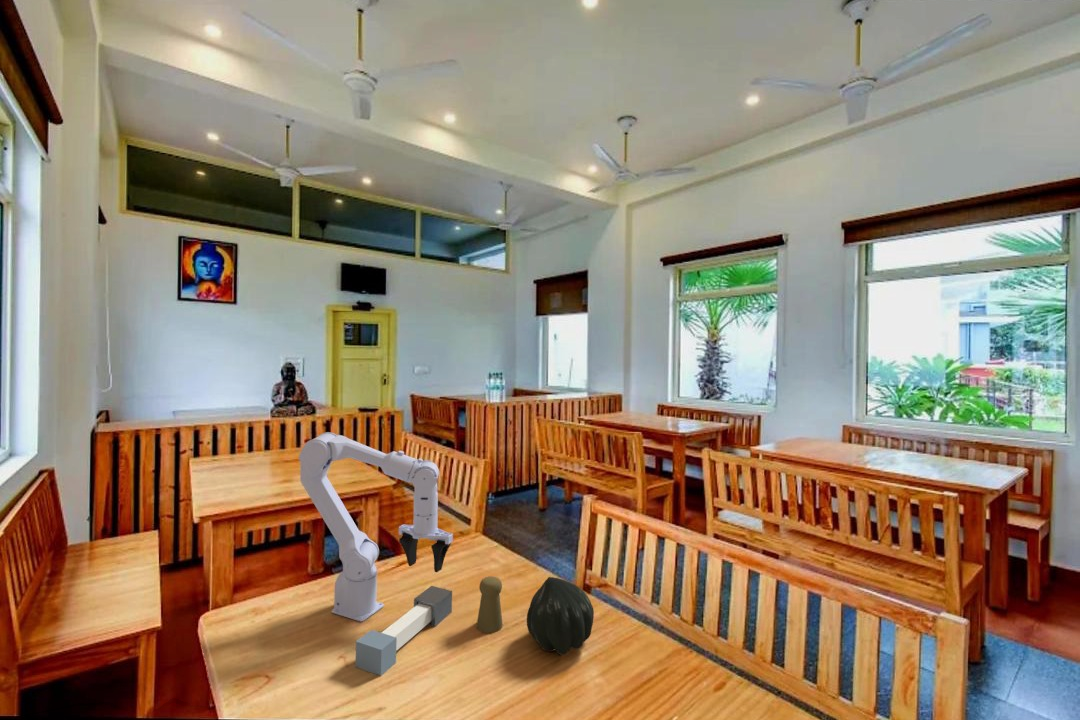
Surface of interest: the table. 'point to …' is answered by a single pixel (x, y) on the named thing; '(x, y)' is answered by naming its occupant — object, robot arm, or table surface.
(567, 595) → the squash
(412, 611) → the long white plank
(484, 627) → the olive game pawn
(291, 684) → the table surface
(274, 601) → the table surface
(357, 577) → the robot arm
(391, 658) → the socket
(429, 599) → the metal block
